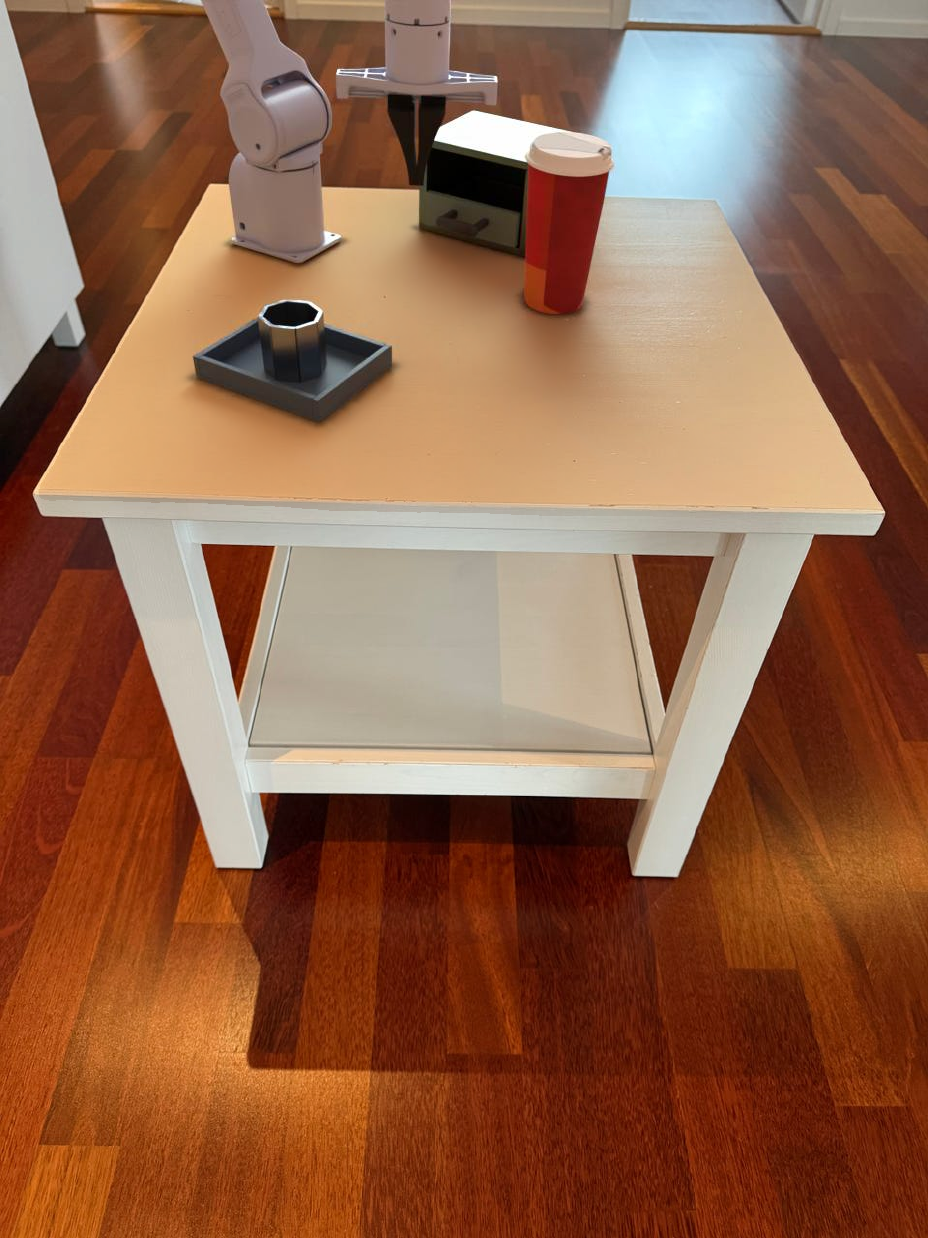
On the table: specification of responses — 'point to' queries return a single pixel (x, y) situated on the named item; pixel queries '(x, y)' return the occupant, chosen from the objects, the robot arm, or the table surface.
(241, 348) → the tray
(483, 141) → the cabinet
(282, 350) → the faceted metal cup
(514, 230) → the drawer
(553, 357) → the table surface
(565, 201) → the coffee cup
